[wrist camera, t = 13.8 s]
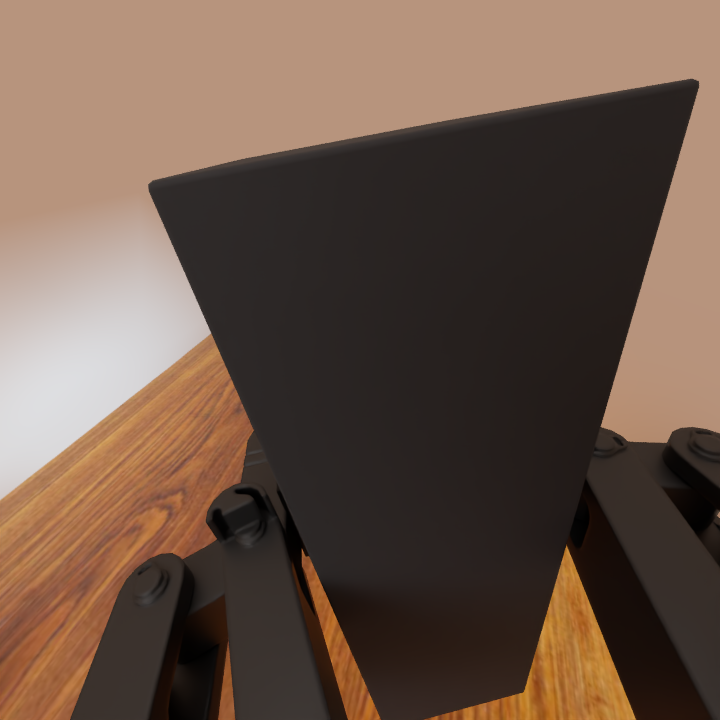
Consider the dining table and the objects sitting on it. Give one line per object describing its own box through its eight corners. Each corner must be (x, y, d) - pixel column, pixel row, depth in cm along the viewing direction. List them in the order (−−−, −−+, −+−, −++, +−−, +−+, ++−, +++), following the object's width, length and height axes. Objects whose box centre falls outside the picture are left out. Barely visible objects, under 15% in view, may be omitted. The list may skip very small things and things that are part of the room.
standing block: (457, 532, 17) (452, 119, 8) (524, 692, 12) (706, 75, 3) (358, 556, 17) (240, 159, 8) (385, 730, 12) (142, 184, 3)
